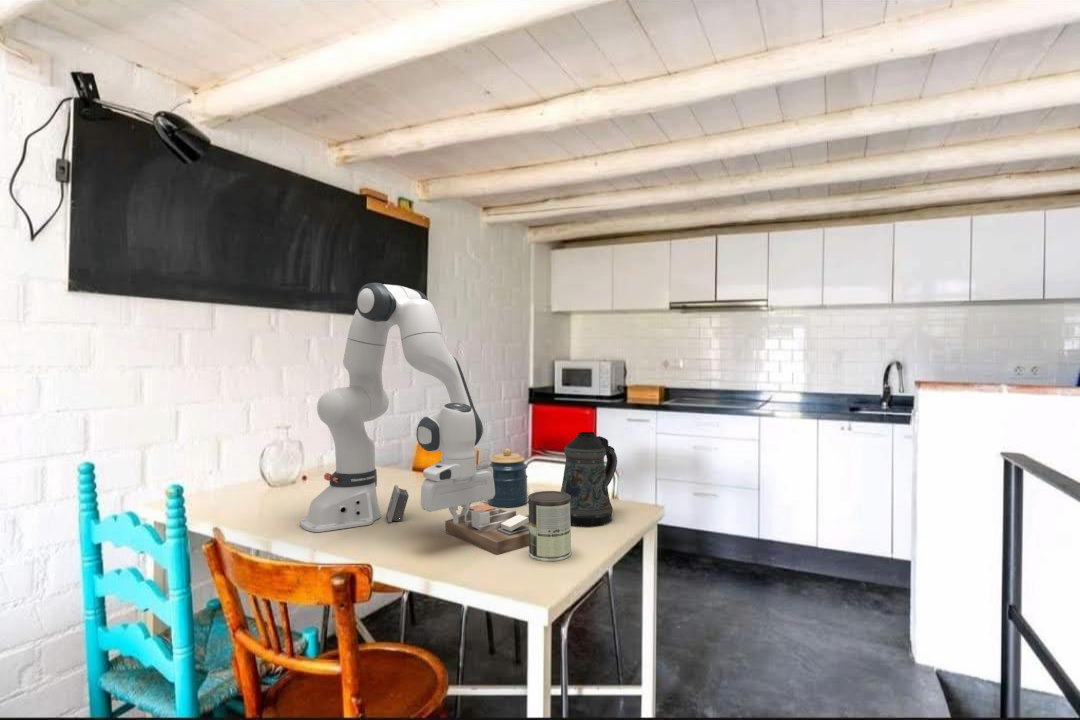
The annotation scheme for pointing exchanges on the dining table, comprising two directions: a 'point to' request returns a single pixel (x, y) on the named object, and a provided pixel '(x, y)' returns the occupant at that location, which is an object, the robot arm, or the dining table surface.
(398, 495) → the electrical switch
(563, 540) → the coffee can
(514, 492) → the canister
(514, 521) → the rocker switch
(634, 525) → the dining table surface
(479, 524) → the block
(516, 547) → the control panel
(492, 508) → the push button
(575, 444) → the beer stein
